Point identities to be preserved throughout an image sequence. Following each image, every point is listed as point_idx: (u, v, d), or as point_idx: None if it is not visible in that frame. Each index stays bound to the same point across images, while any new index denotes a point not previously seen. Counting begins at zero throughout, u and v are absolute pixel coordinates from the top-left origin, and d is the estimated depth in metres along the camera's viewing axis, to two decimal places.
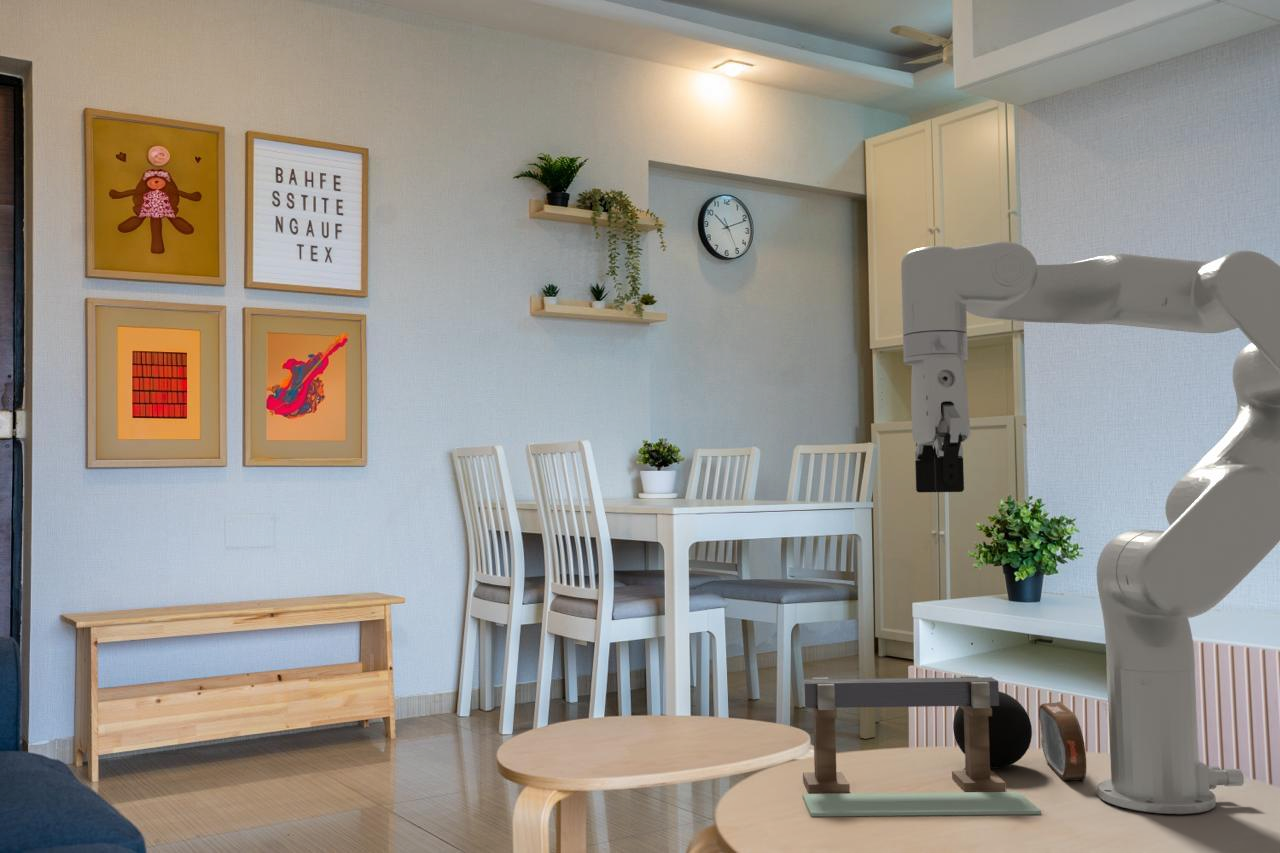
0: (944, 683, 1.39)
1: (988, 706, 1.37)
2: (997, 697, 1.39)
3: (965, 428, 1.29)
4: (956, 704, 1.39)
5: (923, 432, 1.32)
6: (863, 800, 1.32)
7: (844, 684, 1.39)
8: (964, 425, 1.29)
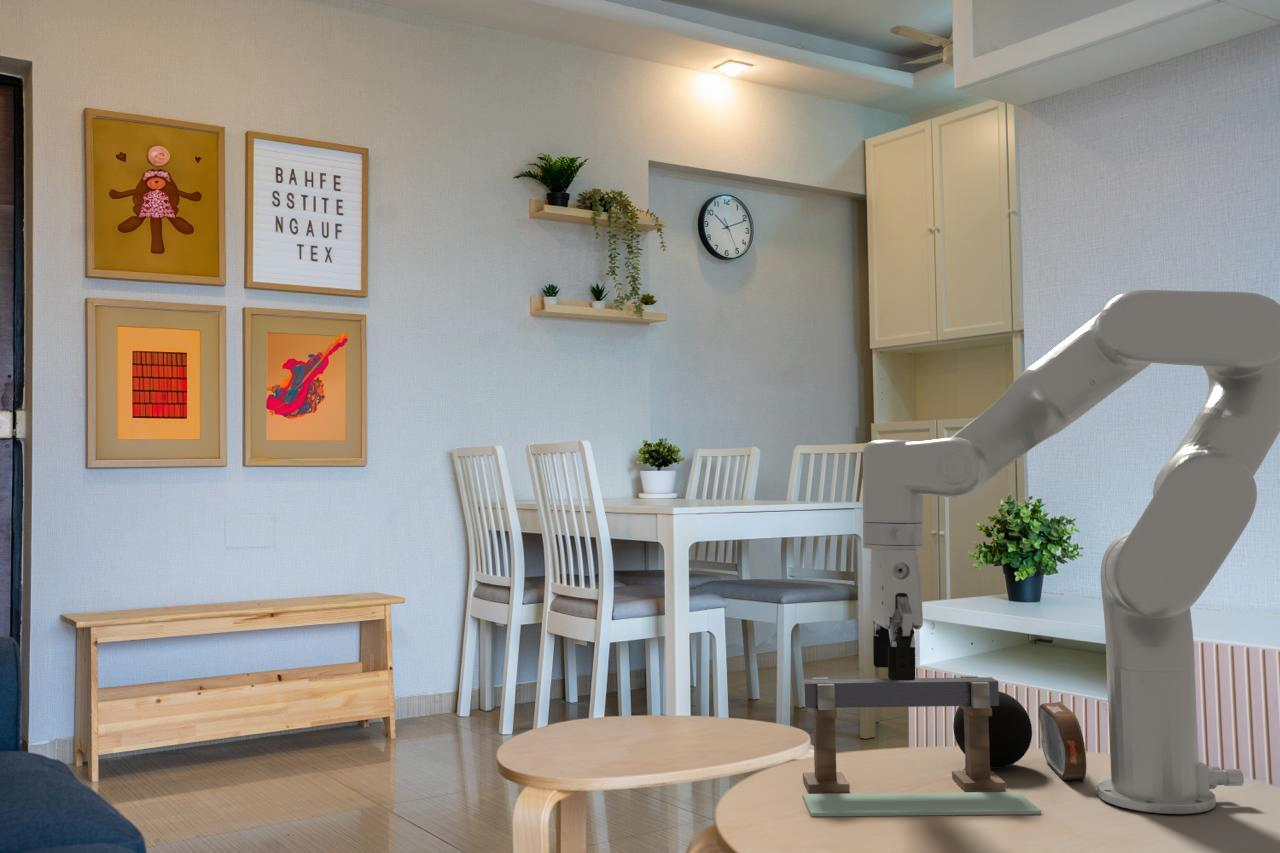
0: (944, 683, 1.39)
1: (988, 706, 1.37)
2: (997, 697, 1.39)
3: (918, 619, 1.36)
4: (956, 704, 1.39)
5: (879, 618, 1.39)
6: (863, 800, 1.32)
7: (844, 684, 1.39)
8: (917, 616, 1.36)
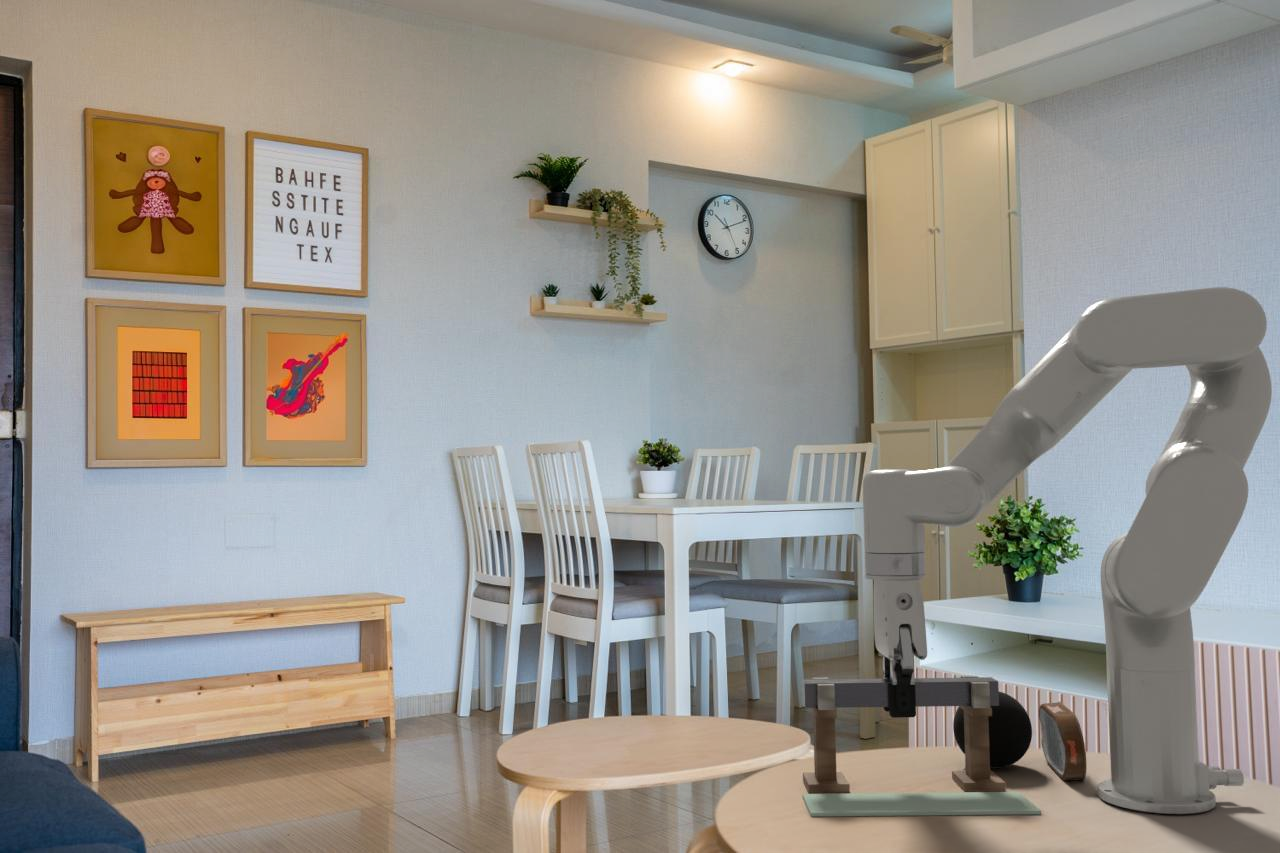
0: (944, 683, 1.39)
1: (988, 706, 1.37)
2: (997, 697, 1.39)
3: (922, 649, 1.36)
4: (956, 704, 1.39)
5: (883, 649, 1.39)
6: (863, 800, 1.32)
7: (844, 684, 1.39)
8: (921, 647, 1.36)
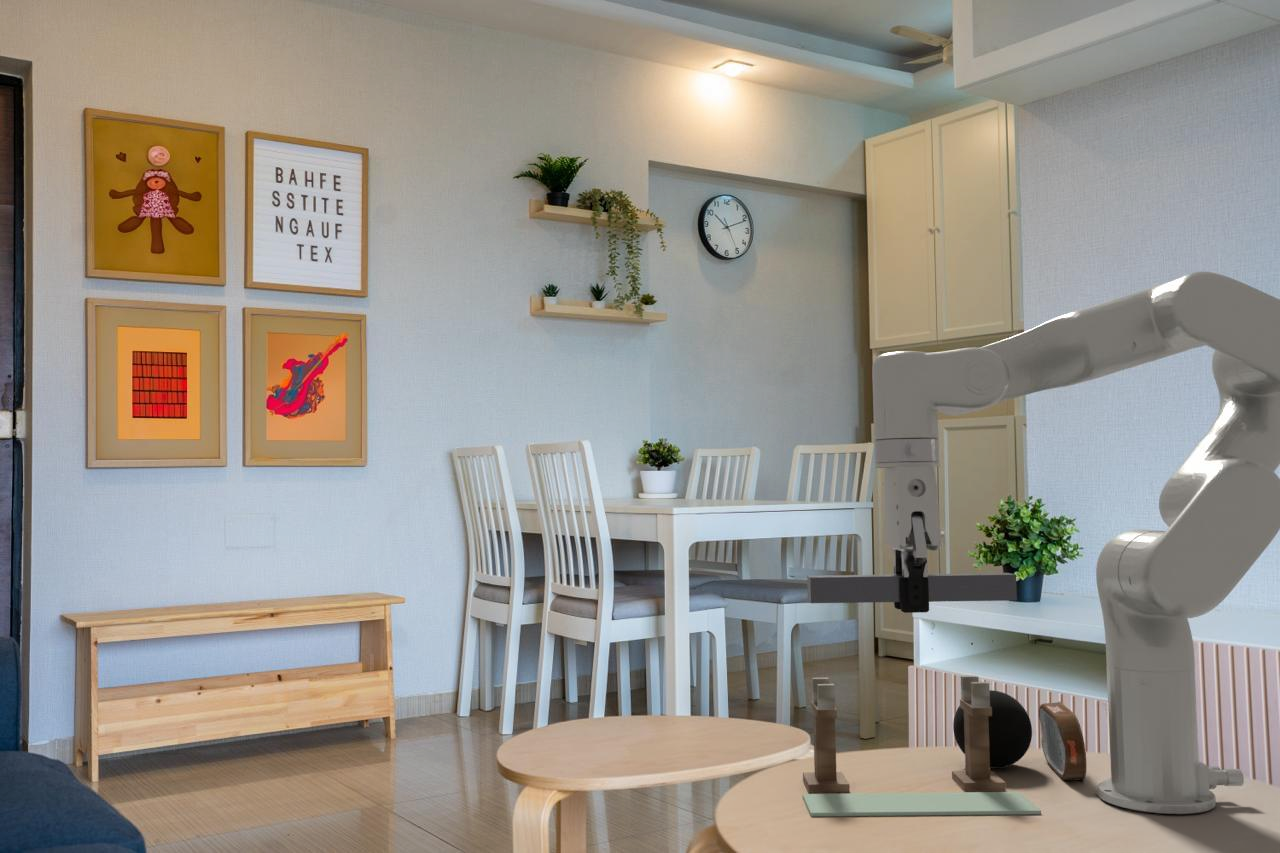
0: (958, 577, 1.31)
1: (988, 706, 1.37)
2: (1015, 591, 1.30)
3: (936, 538, 1.28)
4: (971, 599, 1.31)
5: (894, 540, 1.31)
6: (863, 800, 1.32)
7: (852, 578, 1.31)
8: (935, 536, 1.28)
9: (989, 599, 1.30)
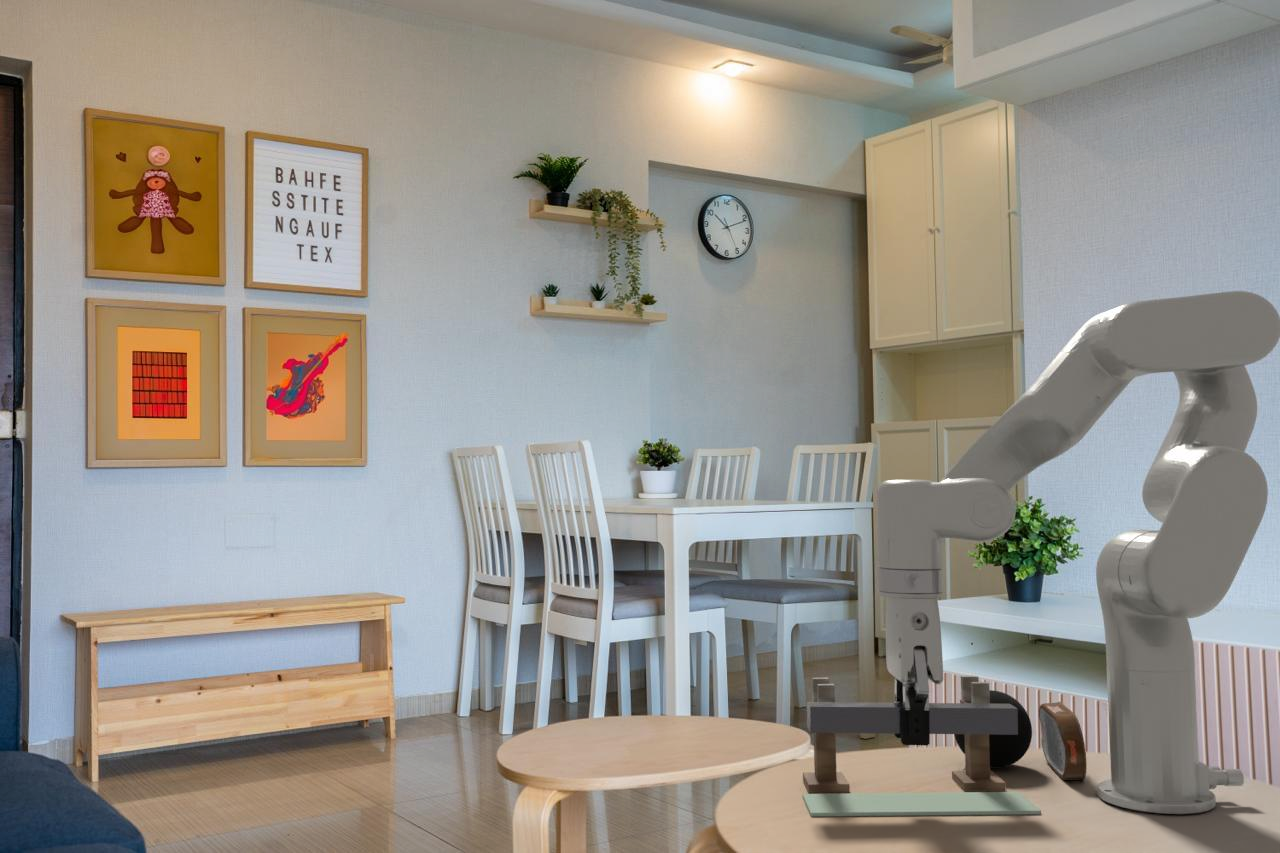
0: (959, 709, 1.30)
1: None
2: (1016, 725, 1.29)
3: (938, 673, 1.27)
4: (972, 732, 1.30)
5: (896, 671, 1.30)
6: (863, 800, 1.32)
7: (852, 708, 1.30)
8: (937, 670, 1.27)
9: (990, 733, 1.30)
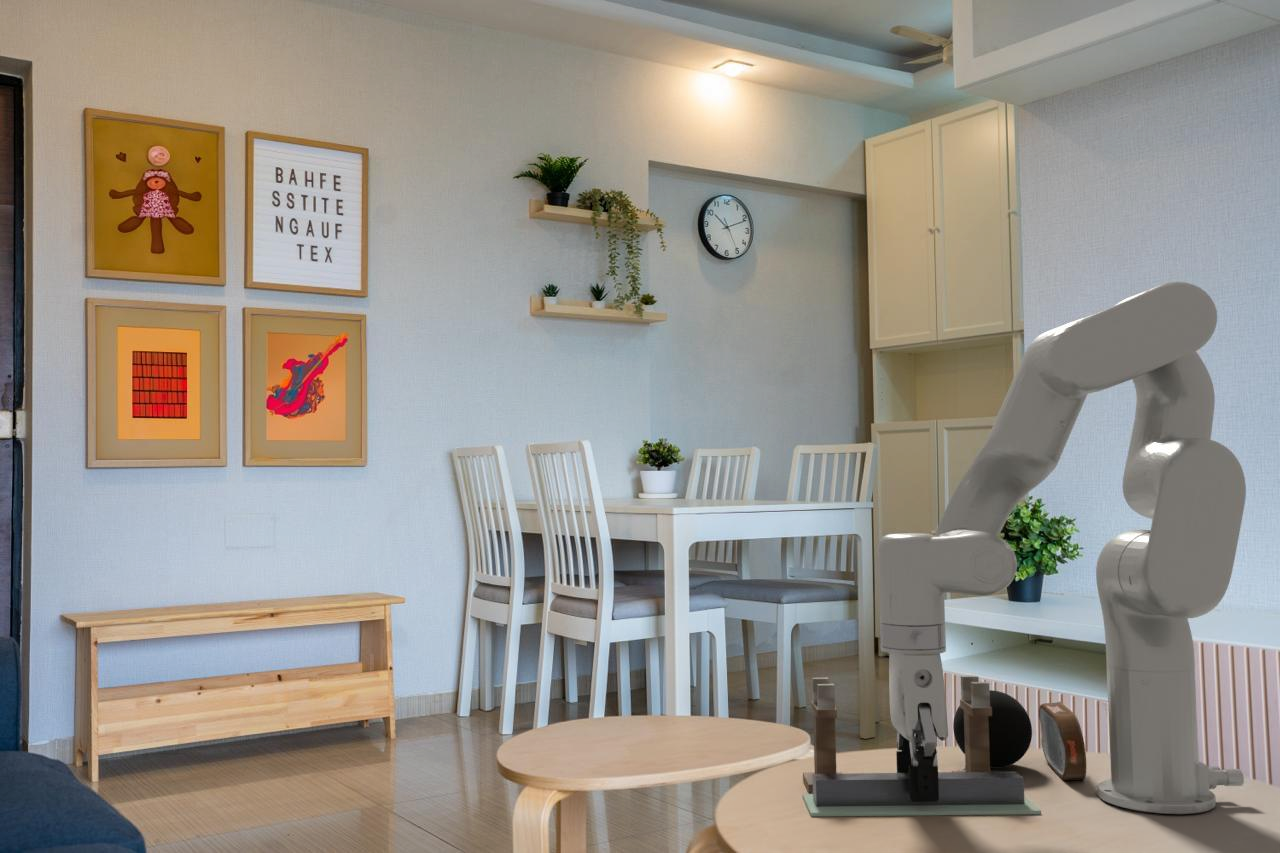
0: (966, 780, 1.29)
1: (988, 706, 1.37)
2: (1022, 795, 1.29)
3: (943, 730, 1.26)
4: (978, 803, 1.29)
5: (900, 727, 1.29)
6: None
7: (858, 781, 1.30)
8: (942, 727, 1.26)
9: (996, 803, 1.29)
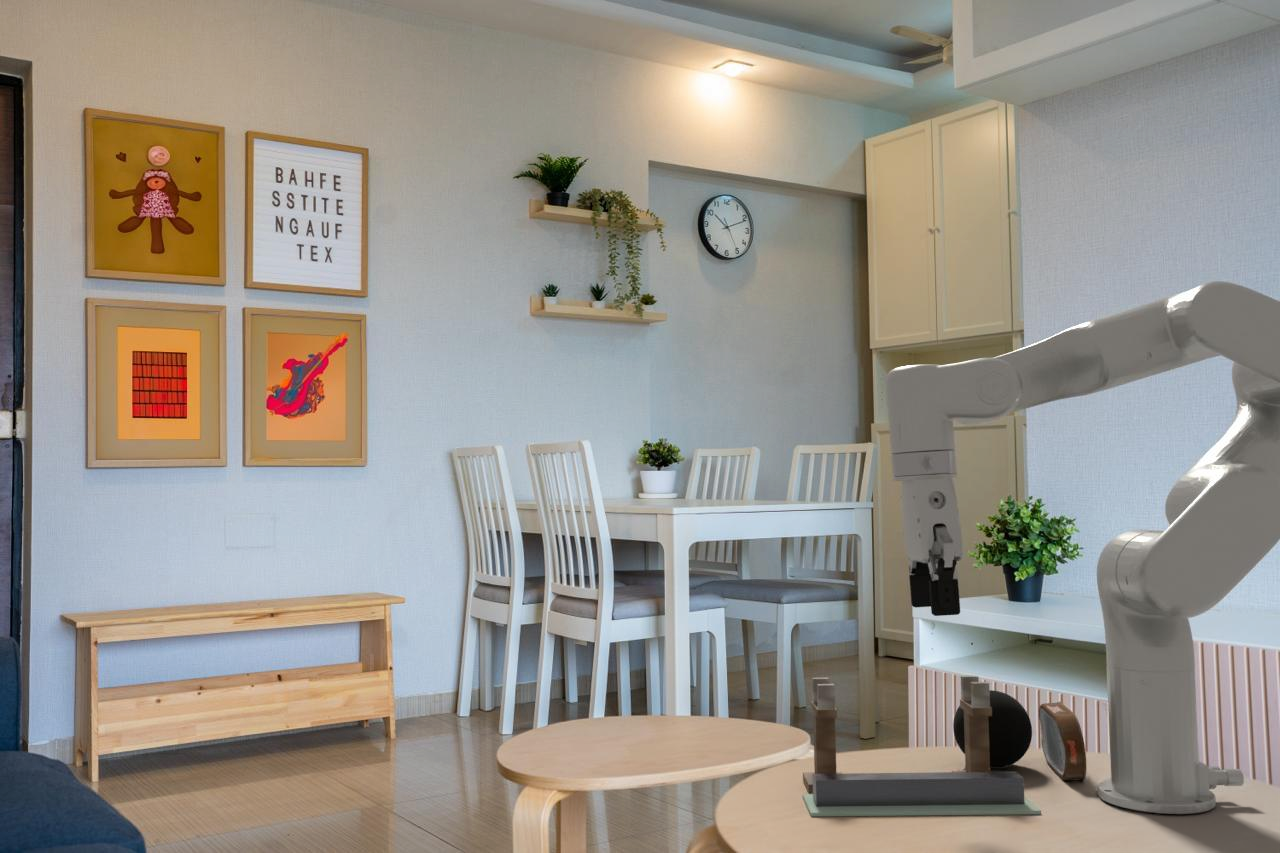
0: (966, 780, 1.29)
1: (988, 706, 1.37)
2: (1022, 795, 1.29)
3: (959, 549, 1.29)
4: (978, 803, 1.29)
5: (916, 553, 1.32)
6: None
7: (858, 781, 1.30)
8: (957, 547, 1.29)
9: (996, 803, 1.29)
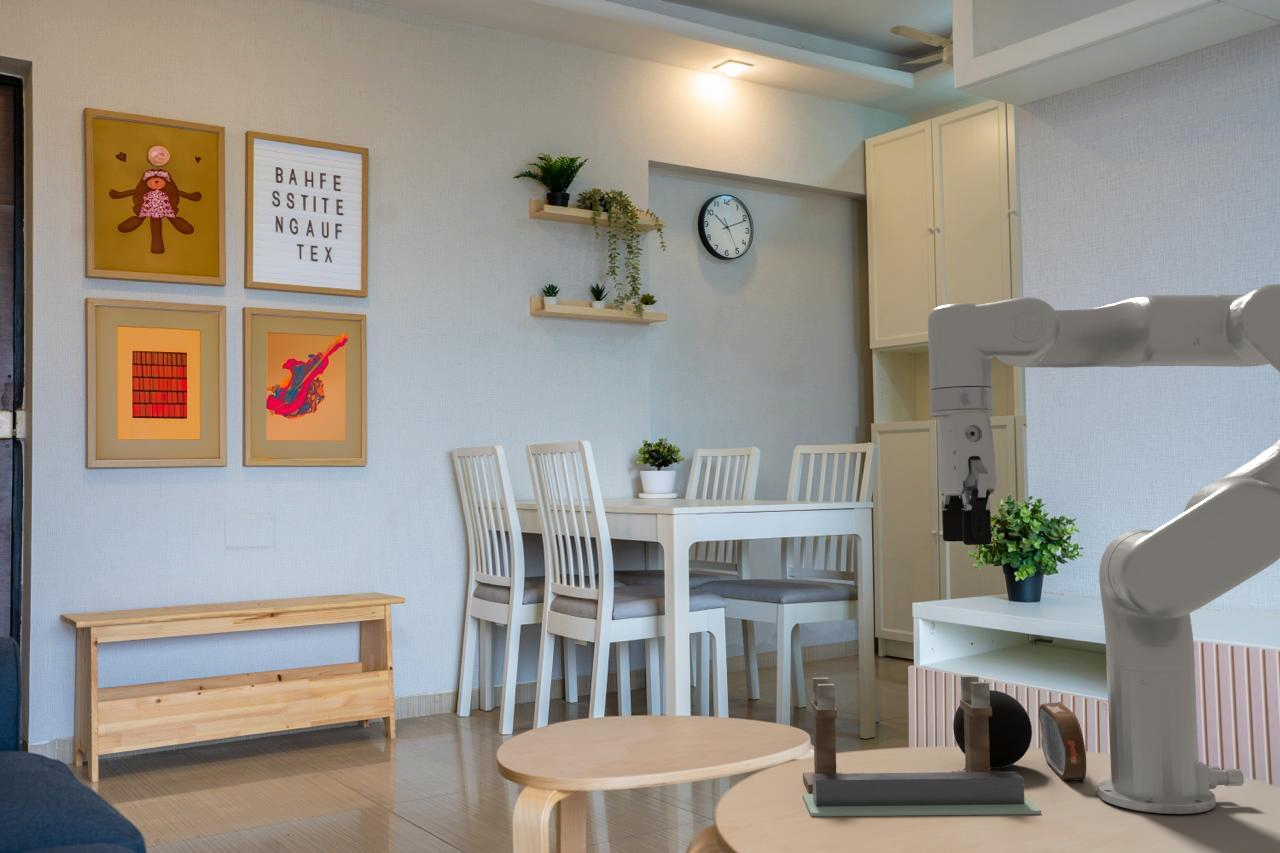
0: (966, 780, 1.29)
1: (988, 706, 1.37)
2: (1022, 795, 1.29)
3: (992, 482, 1.33)
4: (978, 803, 1.29)
5: (951, 485, 1.36)
6: None
7: (858, 781, 1.30)
8: (991, 479, 1.33)
9: (996, 803, 1.29)
